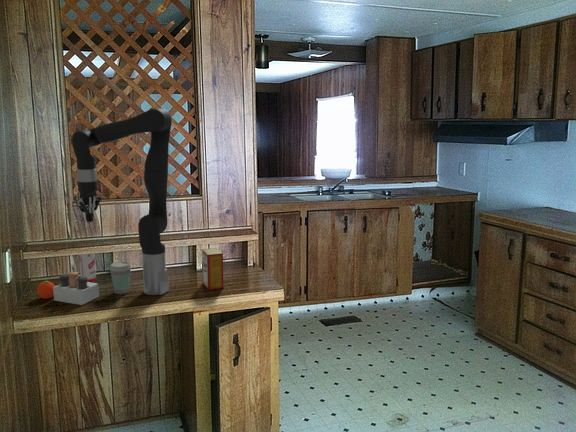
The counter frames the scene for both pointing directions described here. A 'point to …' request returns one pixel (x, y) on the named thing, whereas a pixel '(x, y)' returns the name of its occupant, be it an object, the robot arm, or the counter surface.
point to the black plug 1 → (64, 280)
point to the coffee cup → (120, 277)
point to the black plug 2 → (82, 282)
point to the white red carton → (88, 266)
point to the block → (76, 293)
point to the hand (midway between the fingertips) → (90, 221)
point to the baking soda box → (212, 268)
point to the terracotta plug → (73, 279)
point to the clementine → (45, 290)
